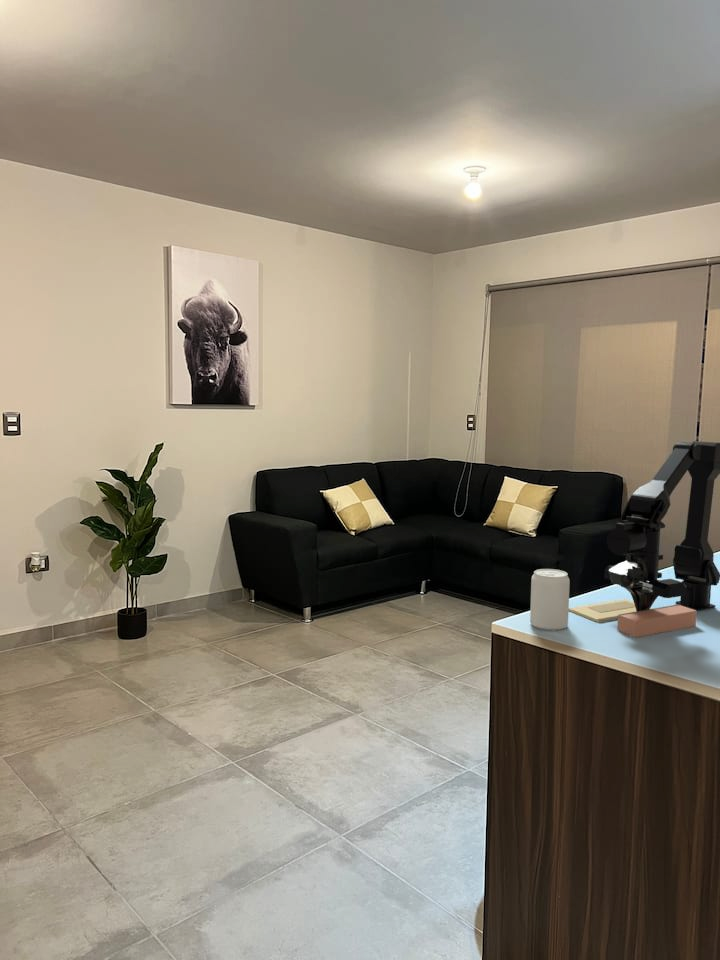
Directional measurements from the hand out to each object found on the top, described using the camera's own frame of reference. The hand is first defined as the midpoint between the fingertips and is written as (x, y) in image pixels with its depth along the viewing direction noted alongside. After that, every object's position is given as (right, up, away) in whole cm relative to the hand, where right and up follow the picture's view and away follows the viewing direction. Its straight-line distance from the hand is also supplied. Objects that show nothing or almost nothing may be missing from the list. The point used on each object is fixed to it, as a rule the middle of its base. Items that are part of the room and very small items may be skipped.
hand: (641, 617), depth 164 cm
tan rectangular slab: (-3, 0, +9) cm, 9 cm away
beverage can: (-21, -2, -2) cm, 21 cm away
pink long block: (+2, -2, -3) cm, 4 cm away
